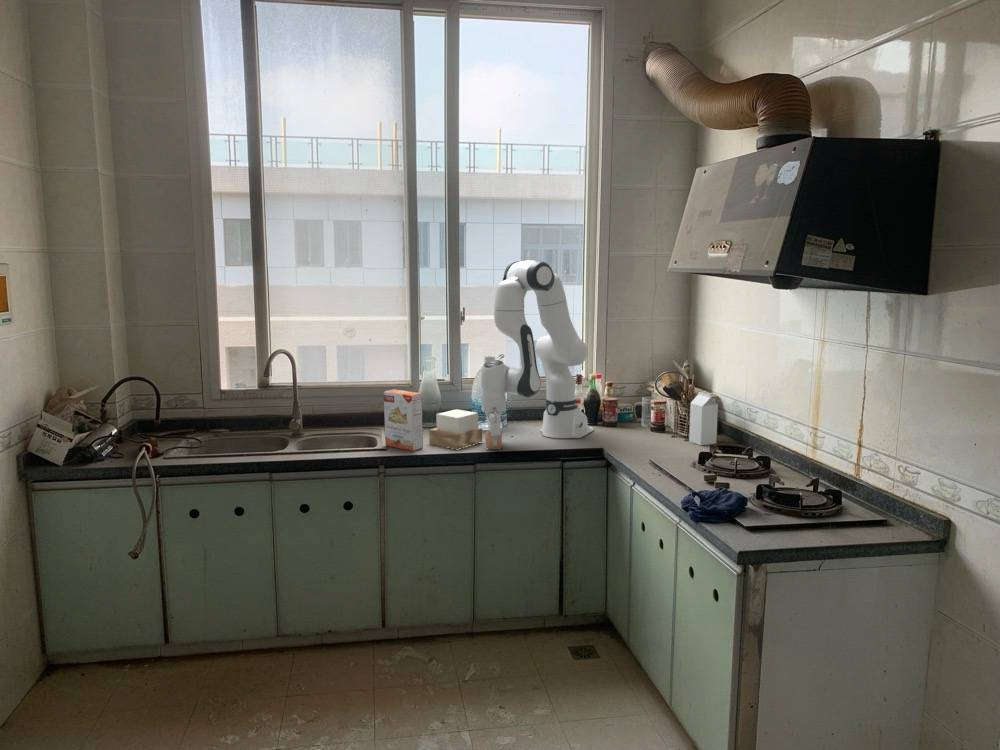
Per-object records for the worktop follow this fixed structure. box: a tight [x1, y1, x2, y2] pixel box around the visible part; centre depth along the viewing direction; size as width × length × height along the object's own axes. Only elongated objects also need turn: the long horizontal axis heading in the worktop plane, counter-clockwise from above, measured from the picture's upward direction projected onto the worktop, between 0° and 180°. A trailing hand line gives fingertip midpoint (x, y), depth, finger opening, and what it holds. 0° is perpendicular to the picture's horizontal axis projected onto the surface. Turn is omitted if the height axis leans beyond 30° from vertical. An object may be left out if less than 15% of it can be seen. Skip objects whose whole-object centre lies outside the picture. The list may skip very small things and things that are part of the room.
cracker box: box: [383, 389, 424, 452], centre depth 272 cm, size 14×6×21 cm, turn 54°
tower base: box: [428, 427, 483, 450], centre depth 278 cm, size 14×14×6 cm
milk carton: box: [688, 391, 719, 446], centre depth 276 cm, size 7×7×19 cm
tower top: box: [435, 408, 479, 434], centre depth 277 cm, size 11×11×6 cm
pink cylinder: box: [485, 430, 503, 450], centre depth 271 cm, size 6×6×6 cm
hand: (493, 442), depth 272 cm, fingers closed on pink cylinder, 6 cm apart
